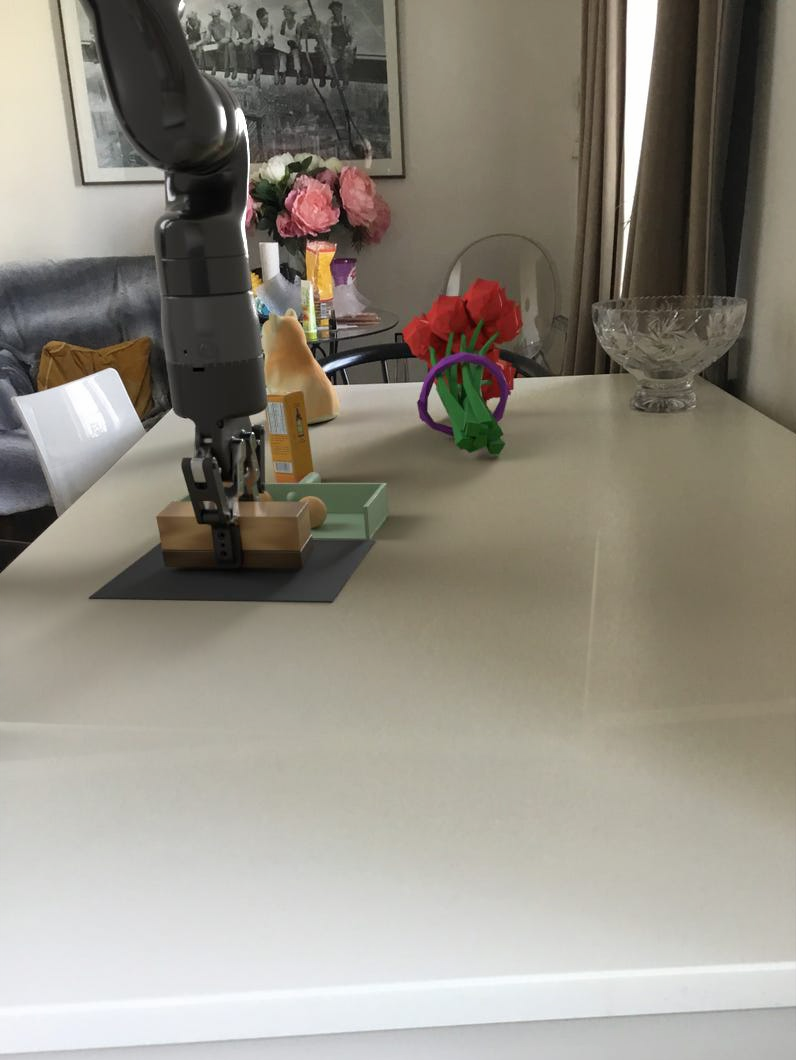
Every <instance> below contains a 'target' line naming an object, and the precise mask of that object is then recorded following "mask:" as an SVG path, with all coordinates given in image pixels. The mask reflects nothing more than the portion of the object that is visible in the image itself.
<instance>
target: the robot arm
mask: <svg viewBox="0 0 796 1060" xmlns="http://www.w3.org/2000/svg"><path fill="white" fill-rule="evenodd" d="M78 1H79V3H80V7H81V8H82V10H83V12H84V14H85V16H86V18H87V20H88V21H89V24H90V26H91V30H92V34H93V39H94V45H95V49H96V53H97V54H96V55H97V58H98V62H99V66H100V70H101V73H102V77H103V80H104V84H105V87H106V91H107V95H108V98H109V101H110V104H111V107H112V110H113V113H114V116H115V118H116V121H117V122H118V125H119V126H120V129H121V130H122V132H123V134H124V136H125V138H126V139H127V141H128V142H129V144H130V146H131V148H132V149H133V150H134V151H135V153H136V154H137V155H138V156H139V157H140V158H141V159H142V160H143V161H144V162H145V163H147V164H148V165H150V166H151V167H153V168H155V169H157V170H159V171H162V172H163V175H164V176H163V177H164V210H163V212H162V214H160V215H159V216H158V218H157V219H156V220H155V222H154V225H153V229H152V241H153V242H152V243H153V252H154V261H155V268H156V275H157V282H158V290H159V294H160V296H159V297H160V325H161V327H160V328H161V335H162V341H163V349H164V354H165V355H164V356H165V363H166V364H165V365H166V371H167V378H168V386H169V392H170V393H169V394H170V399H171V407H172V411H173V413H174V414H175V415H176V416H177V417H179V418H182V419H189V420H190V421H192V422H193V423H194V426H195V427H194V443H193V456H192V457H182V459H181V463H180V466H181V472H182V474H183V478H184V482H185V484H186V489H187V493H188V492H189V496H190V499H191V503H192V506H193V510H194V513H195V517H196V520H197V523H198V524H207V525H211V531H212V539H213V546H214V554H215V562H216V565H217V567H219V568H221V569H238V568H240V567H241V566H242V565H243V563H244V558H243V549H242V541H241V533H240V525H239V524H238V522H239V508H238V502H260V497H259V494H264V492H265V483H266V436H265V435H266V429H265V427H264V425H263V424H252V422H251V418H250V417H251V416H255V415H258V414H261V413H262V412H265V409H266V407H267V405H268V400H267V394H268V390H267V386H266V381H265V371H264V364H265V361H264V353H263V352H262V343H261V334H262V332H261V325H260V318H259V314H258V310H257V305H256V302H255V297H254V296H255V295H254V291H253V281H252V272H251V263H250V255H249V253H250V251H249V246H248V239H247V234H246V232H247V231H246V220H247V219H246V218H247V211H248V201H249V180H250V179H249V176H250V146H249V133H248V129H247V128H248V127H247V122H246V118H245V114H244V111H243V109H242V106H241V103H240V101H239V99H238V98H237V96H236V94H235V93H234V92H233V90H232V89H231V87H229V86H228V85H227V84H226V83H225V82H224V81H223V80H221V79H220V78H219V77H217V76H215V75H213V74H211V73H208V72H205V71H201V70H200V69H199V67H198V65H197V63H196V61H195V58H194V56H193V53H192V51H191V47H190V44H189V42H188V39H187V36H186V34H185V30H184V28H183V25H182V22H181V20H182V18H183V16H184V13H185V8H186V3H185V2H186V1H185V0H78ZM223 486H224V487H223ZM226 497H227V499H228V503H227V499H226ZM204 501H205V505H204ZM215 504H216V507H217V509H216V507H215Z"/></svg>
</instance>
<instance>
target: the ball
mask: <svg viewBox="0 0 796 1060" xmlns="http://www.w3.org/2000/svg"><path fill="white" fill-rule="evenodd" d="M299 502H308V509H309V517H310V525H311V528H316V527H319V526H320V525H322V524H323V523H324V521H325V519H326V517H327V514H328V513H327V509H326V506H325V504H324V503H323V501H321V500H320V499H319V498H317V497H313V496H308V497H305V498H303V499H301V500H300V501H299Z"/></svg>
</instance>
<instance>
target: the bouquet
mask: <svg viewBox="0 0 796 1060" xmlns="http://www.w3.org/2000/svg"><path fill="white" fill-rule="evenodd" d="M500 284H501V283H500V281H495V280H486V279H483V278H481V277H477V279H476V281H475V283H474V281H473V280H472V281H471V283H470V286H469V288H468V290H467V292H466V293H465V294H464V295H463V297H462V295H446V294H438V298H437V300H436V299H435V298H433V302H432V305H431V308H430V309H429V312H428V313H424V312H423V311H421V313H420V316H419V317H418V316H417V315H414V317H413V318H412V320H411V321H410V322H409V323H408V324H407V325H406V326H405V327H404V328H403V329H402V330H401V333H402V336H403V337H402V339H403V340H404V343H406V344H407V345H408V347H409V349H410V351H411V354H412V355H413V356H415V357H417V358H418V360H419V361H424V362H425V363H426V364H427V367H428V369H429V371H428V373H427V374H426V376H425V377H424V381H423V383H422V385H421V390H420V393H419V397H418V398H419V399H418V400H417V401H416V404H417V410H418V416H419V419H420V420H421V422H424V423H425V424H427V426H428V427H430V428H431V429H432V430H435V431H438V432H441V433H443V434H446V435H448V436H452V437H453V438H454V443H455V446H456V447H458V448H459V449H460V450H461V451H463V450H465V451H467V452H468V453H469V454H471V453H472V452H476V451H479V450H481V449H482V448H485V447H486V449H487V451H488V452H489V454H490V455H496V456H497V455H498V456H500V454H501V452H502V450H503V449H504V447H505V445H506V442H505V441H504V440H503V439H502V438H501V437H503V436H504V435H505V434H504V431H503V430H502V428H501V427H500V425H499V423H498V422H499V421H501V420H502V419H503V416H504V413H505V409H506V405H507V402H508V399H509V396H511V394H512V391H513V390H514V388H515V387H514V386H515V385H514V383H515V382H514V381H515V375H516V371H517V368H516V367H513V366H512V365H513V363H511V362H509V361H506V360H503V359H500V351H501V350H500V349H501V348H495V347H496V344H497V345H502V344H503V343H509V342H512V341H513V340H514V339H515V338H516V337H517V336H519V335H520V334H521V332H522V330H520V329H521V328H523V326H524V322H523V319H522V309H521V304H519V305H516V300H515V299H514V300H513V299H507V295H506V285H504V286H502V287H500ZM433 385H435V390H436V392H437V395H438V397H439V399H440V401H441V403H442V405H443V407H444V409H445V412H446V414H447V416H448V419H449V420H450V424H451V426H450V425H446V424H443V423H439V422H437V421H434V419H433V418H432V416H431V415H430V413H429V411H428V409H429V407H428V406H429V404H428V403H429V396H430V394H431V391H432V388H433ZM492 399H499V402H498V404H497V405H496V408H495V409H494V411H493V413H492V412H491V410H490V408H489V407H488V401H490V400H492Z"/></svg>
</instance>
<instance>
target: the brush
mask: <svg viewBox="0 0 796 1060" xmlns="http://www.w3.org/2000/svg"><path fill="white" fill-rule="evenodd" d="M227 503H228V502H227ZM204 505H205V501H204ZM215 507H216V504H215ZM238 508H239V522H238V524H239V525H240V533H241V541H242V549H243V558H244V563H243V565H242V566H241V567H249V568H303V566H304V564H305V563H306V561H307V560H308V558H309V557H310V555H311V553H312V552H313V550H314V545H313V540H314V539H313V537H312V534H311V525H310V517H309V509H308V502H238ZM216 509H217V507H216ZM155 519H156V523H157V529H158V532H159V533H158V534H159V539H160V542H161V545H162V549H163V550H162V555H163V560H164V565H165V567H217V565H216V562H215V554H214V546H213V539H212V531H211V525H207V524H198V523H197V520H196V517H195V513H194V510H193V506H192V503H191V501H177V500H175V501H170V503H168V504H167V506H165V507H164V508H163V509H162V510H161V511H160V512H159V513H158V514H157V515H156V516H155Z"/></svg>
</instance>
